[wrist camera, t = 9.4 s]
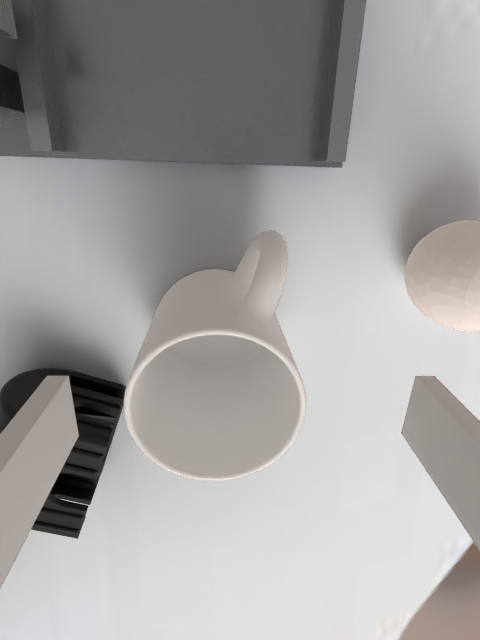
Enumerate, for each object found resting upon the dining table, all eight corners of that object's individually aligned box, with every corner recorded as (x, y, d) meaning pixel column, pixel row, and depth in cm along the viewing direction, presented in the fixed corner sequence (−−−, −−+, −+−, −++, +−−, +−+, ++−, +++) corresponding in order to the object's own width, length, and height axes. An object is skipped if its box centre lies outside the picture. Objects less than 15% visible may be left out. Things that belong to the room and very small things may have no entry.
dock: (-34, 154, 21) (-222, 148, 12) (-91, -97, 17) (-441, -395, 8) (335, 167, 23) (417, 170, 14) (363, -61, 19) (506, -275, 10)
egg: (367, 274, 26) (427, 317, 18) (432, 192, 24) (528, 205, 17) (431, 319, 27) (510, 376, 20) (496, 247, 26) (609, 280, 18)
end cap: (32, 352, 26) (-24, 411, 20) (131, 380, 28) (107, 443, 22) (10, 457, 30) (-43, 535, 24) (99, 478, 31) (71, 556, 25)
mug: (207, 190, 23) (202, 208, 13) (321, 247, 25) (388, 299, 15) (138, 349, 27) (97, 451, 17) (242, 388, 29) (256, 500, 19)
